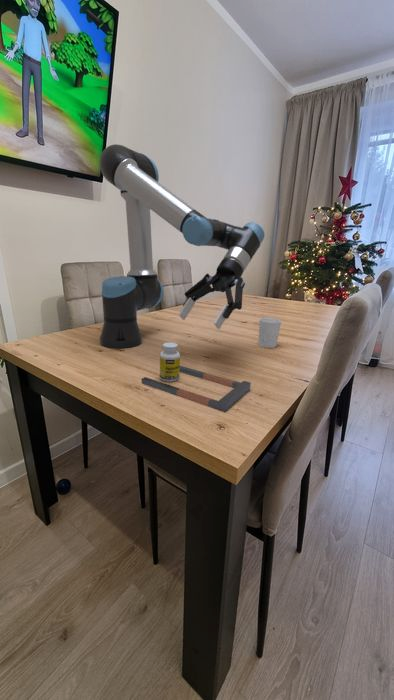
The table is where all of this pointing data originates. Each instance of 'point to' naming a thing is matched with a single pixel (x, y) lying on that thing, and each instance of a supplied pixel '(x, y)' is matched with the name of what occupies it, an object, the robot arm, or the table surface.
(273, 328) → the white cup
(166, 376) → the supplement bottle
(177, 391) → the grey brown flat u-shape
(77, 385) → the table surface
